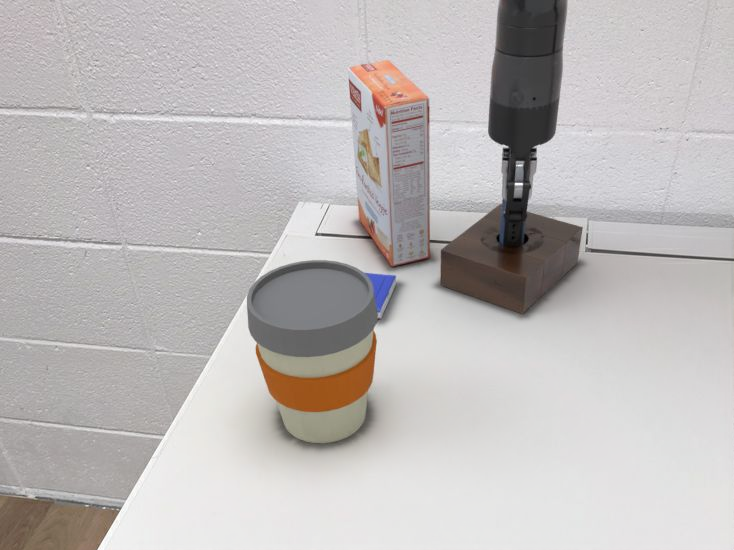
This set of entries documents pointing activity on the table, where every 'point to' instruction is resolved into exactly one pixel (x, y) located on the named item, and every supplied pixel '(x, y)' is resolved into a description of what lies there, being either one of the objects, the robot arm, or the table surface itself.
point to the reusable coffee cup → (316, 345)
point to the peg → (504, 225)
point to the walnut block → (510, 260)
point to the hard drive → (382, 290)
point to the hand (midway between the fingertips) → (512, 237)
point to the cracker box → (391, 160)
